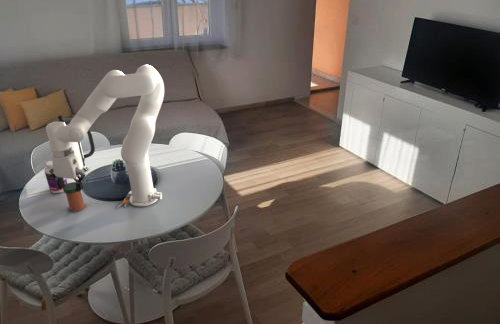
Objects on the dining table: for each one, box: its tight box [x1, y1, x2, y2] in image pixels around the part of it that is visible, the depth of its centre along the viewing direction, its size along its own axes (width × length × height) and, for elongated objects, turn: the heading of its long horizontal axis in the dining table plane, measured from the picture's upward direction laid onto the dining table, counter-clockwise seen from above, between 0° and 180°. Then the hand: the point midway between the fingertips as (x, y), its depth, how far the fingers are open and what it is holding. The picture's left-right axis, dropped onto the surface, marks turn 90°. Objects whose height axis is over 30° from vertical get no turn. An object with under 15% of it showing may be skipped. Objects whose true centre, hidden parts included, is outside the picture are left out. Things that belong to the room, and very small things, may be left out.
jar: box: [65, 190, 85, 212], centre depth 176 cm, size 6×6×10 cm
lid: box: [63, 181, 77, 194], centre depth 174 cm, size 7×7×2 cm
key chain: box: [116, 190, 132, 208], centre depth 183 cm, size 13×4×2 cm, turn 170°
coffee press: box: [50, 114, 96, 172], centre depth 205 cm, size 17×16×30 cm
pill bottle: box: [44, 159, 69, 194], centre depth 190 cm, size 8×8×14 cm
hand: (71, 188), depth 174 cm, fingers open, 8 cm apart
